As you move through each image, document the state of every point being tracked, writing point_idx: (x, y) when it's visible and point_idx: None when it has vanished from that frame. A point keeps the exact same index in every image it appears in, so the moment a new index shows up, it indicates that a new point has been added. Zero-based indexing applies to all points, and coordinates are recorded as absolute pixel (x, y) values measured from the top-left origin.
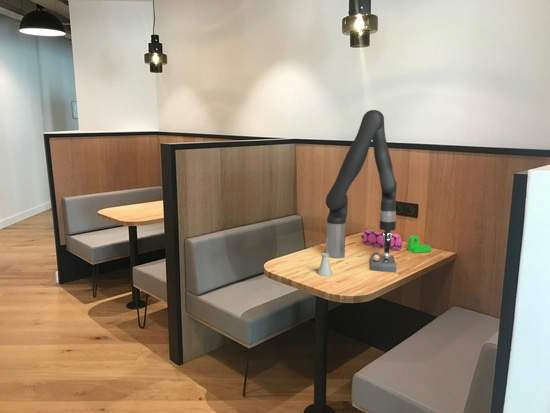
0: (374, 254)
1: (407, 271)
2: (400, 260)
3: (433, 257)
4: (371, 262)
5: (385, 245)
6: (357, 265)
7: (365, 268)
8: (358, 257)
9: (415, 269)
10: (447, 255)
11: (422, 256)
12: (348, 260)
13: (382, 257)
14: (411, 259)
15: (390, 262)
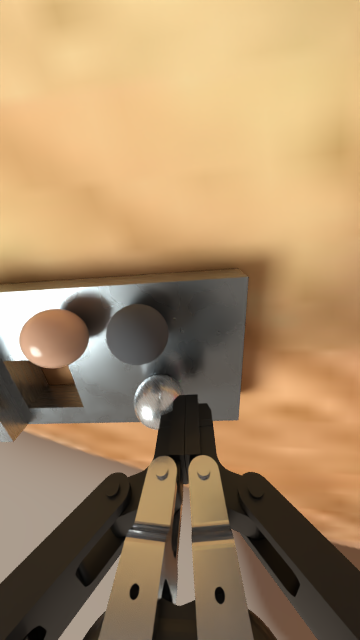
0: (108, 327)
1: (80, 436)
2: (247, 421)
3: (307, 512)
4: (20, 292)
5: (80, 507)
6: (46, 164)
7: (8, 242)
8: (298, 146)
9: (122, 459)
10: (334, 539)
11: (322, 489)
12: (170, 20)
13: (187, 363)
14: (271, 457)
15: (89, 402)
